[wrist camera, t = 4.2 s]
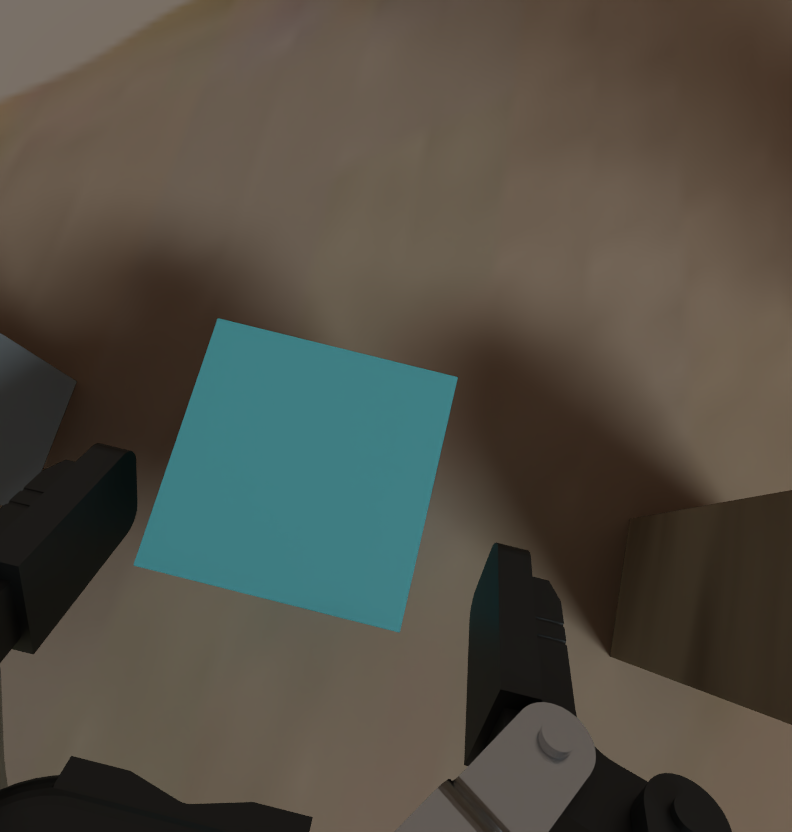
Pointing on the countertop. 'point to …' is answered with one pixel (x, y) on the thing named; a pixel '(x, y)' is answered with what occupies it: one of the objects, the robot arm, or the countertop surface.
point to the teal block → (301, 475)
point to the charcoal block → (27, 414)
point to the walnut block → (713, 600)
